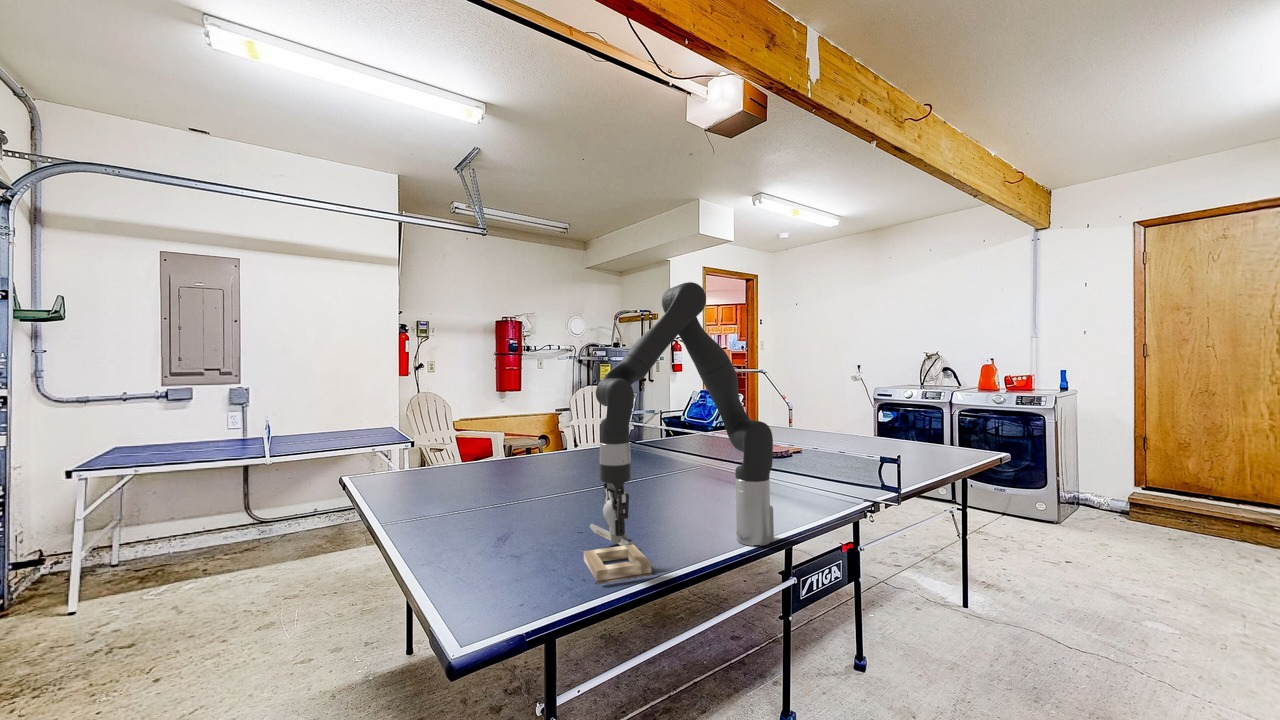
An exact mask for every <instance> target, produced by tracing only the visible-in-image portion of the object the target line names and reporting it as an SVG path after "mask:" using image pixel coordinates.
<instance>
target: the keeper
mask: <svg viewBox="0 0 1280 720" xmlns="http://www.w3.org/2000/svg"><path fill="white" fill-rule="evenodd" d="M589 528H590V529H591V530H592V532H593V534H596V535H598V536H600V537H602V538H604V539H607V540H609V541H611V534H610V532H609V530H607V529H605V528H602V527H601V526H598V525H596V524H594V523H593V522H592V523H590V525H589ZM629 542H630V541H629V540H627V539H624V538H622V537H621V542H619V543H618V544H617V545H619V546H625V545H628V543H629Z"/></svg>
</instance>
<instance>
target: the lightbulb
mask: <svg viewBox="0 0 1280 720" xmlns="http://www.w3.org/2000/svg"><path fill="white" fill-rule="evenodd" d="M614 505H615V506H617V504H614ZM602 514H603V517H604V519H605V521H606V523H607V526H608V525H609V527H608V529H609V530H608V531H609V532H610V534H611V540H610V542H611V543H613V544H614V545H619V544H618V543H619V542H621V536H616V535H615V518H614V510H612V509H611V501H610V499H609V500H608V501H607V502H606V503H605V505H604V504H603V509H602ZM620 514H622V510H621V511H620ZM626 520H627V519H625V521H626Z"/></svg>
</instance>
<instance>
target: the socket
mask: <svg viewBox="0 0 1280 720" xmlns="http://www.w3.org/2000/svg"><path fill="white" fill-rule="evenodd" d="M623 559H628V561H625V562H616V563H612V564H604V562H608V561H614V560H615V561H616V560H623ZM583 561H584V563H585V564H586V566H587V567H588V570H589V571H590V573H591V574H592V576H593V577H594V579H595V580H596V582H595V584H596V585H601V584H607V583H608V584H609V583H614V582H620V581H621V580H622V581H627V580H626V579H628V580H632V579H631V578H634V579H638V578H637V577H640V578H643V577H642V576H647V577H651V576H652V561H650V560H649V558H647V557H646V555H644V554H643V553H642V551H641V550H639V548H638V547H637V545H636V546H635V545H634V544H632V545H625V546H621V545H619V546H612V547H604V548H597V549H590V550H583ZM650 575H651V576H650ZM622 581H621V582H622Z"/></svg>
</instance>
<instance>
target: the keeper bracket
mask: <svg viewBox="0 0 1280 720" xmlns="http://www.w3.org/2000/svg"><path fill="white" fill-rule="evenodd" d="M628 536H629V535H628V533H627V532H625V534H624V535H623V536H621V537H622V538H624V539H627V540H628V539H629V537H628ZM628 541H629V540H628ZM632 544H634V545H635V546H636V547H637V542H636V541H629V543H628V545H632Z"/></svg>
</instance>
